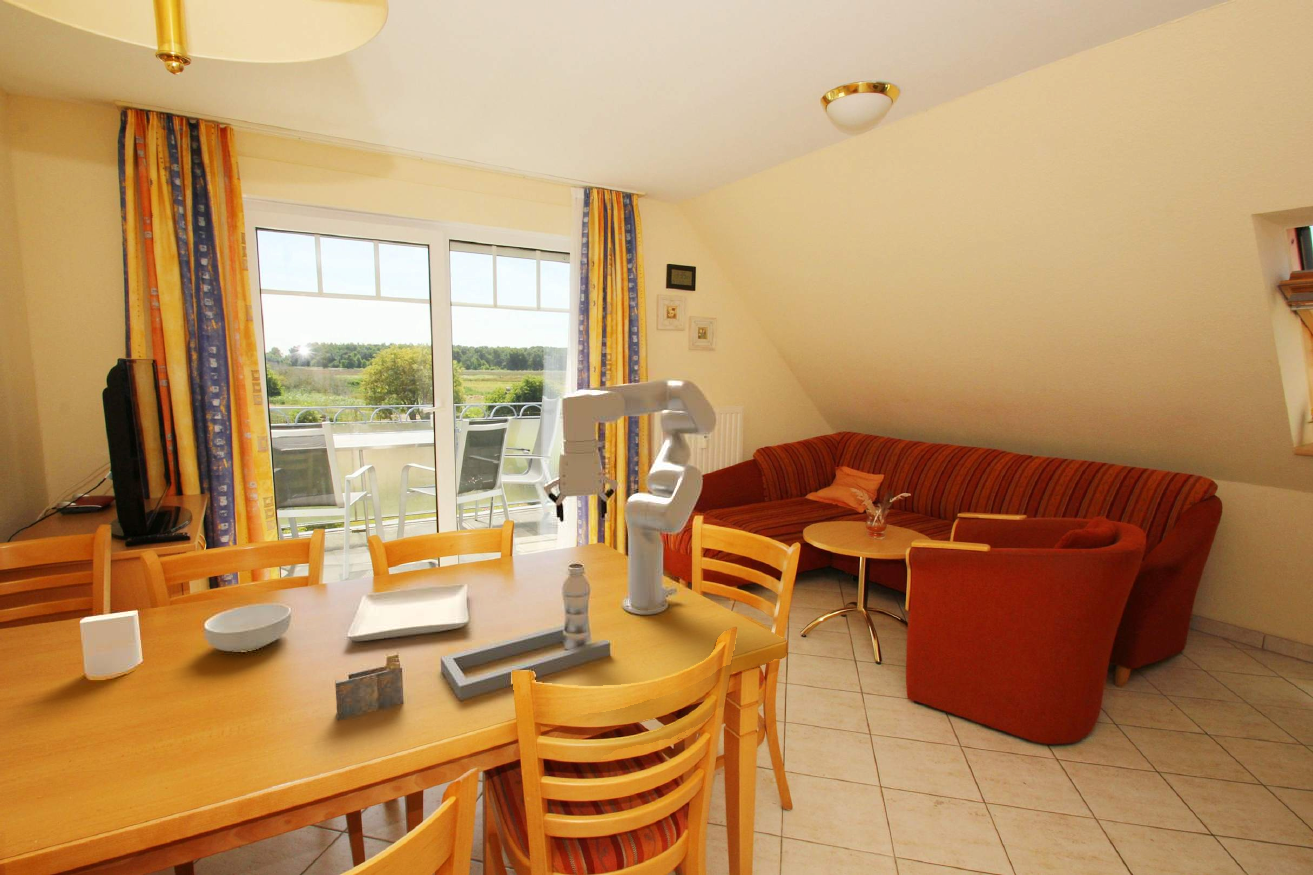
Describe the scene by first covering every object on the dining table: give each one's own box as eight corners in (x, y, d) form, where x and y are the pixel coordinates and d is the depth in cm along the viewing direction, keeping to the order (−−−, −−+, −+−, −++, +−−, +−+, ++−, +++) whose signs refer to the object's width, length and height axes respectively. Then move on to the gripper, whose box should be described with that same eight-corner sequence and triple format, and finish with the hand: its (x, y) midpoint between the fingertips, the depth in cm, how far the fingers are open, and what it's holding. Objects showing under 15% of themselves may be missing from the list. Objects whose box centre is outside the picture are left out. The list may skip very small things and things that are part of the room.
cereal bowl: (302, 645, 139) (300, 616, 138) (215, 671, 126) (212, 639, 126) (280, 623, 150) (278, 596, 149) (199, 645, 138) (196, 616, 137)
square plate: (467, 594, 171) (467, 581, 170) (469, 635, 145) (468, 620, 145) (364, 605, 162) (363, 591, 162) (346, 651, 137) (345, 635, 136)
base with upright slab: (78, 685, 120) (72, 628, 119) (95, 665, 128) (89, 612, 127) (135, 674, 125) (130, 620, 123) (148, 656, 132) (143, 604, 131)
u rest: (582, 632, 147) (582, 620, 146) (610, 655, 135) (610, 642, 135) (441, 670, 128) (440, 657, 127) (459, 700, 116) (459, 686, 116)
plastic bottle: (586, 656, 134) (585, 572, 132) (558, 653, 136) (557, 569, 133) (594, 643, 141) (594, 562, 138) (567, 640, 142) (567, 560, 140)
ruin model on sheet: (401, 697, 118) (399, 651, 117) (403, 704, 116) (401, 657, 114) (336, 714, 112) (334, 665, 111) (338, 722, 110) (335, 672, 109)
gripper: (613, 442, 143) (615, 511, 145) (540, 446, 138) (543, 517, 141) (619, 447, 135) (621, 519, 138) (543, 451, 131) (546, 526, 134)
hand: (582, 518), depth 139 cm, fingers open, 9 cm apart
